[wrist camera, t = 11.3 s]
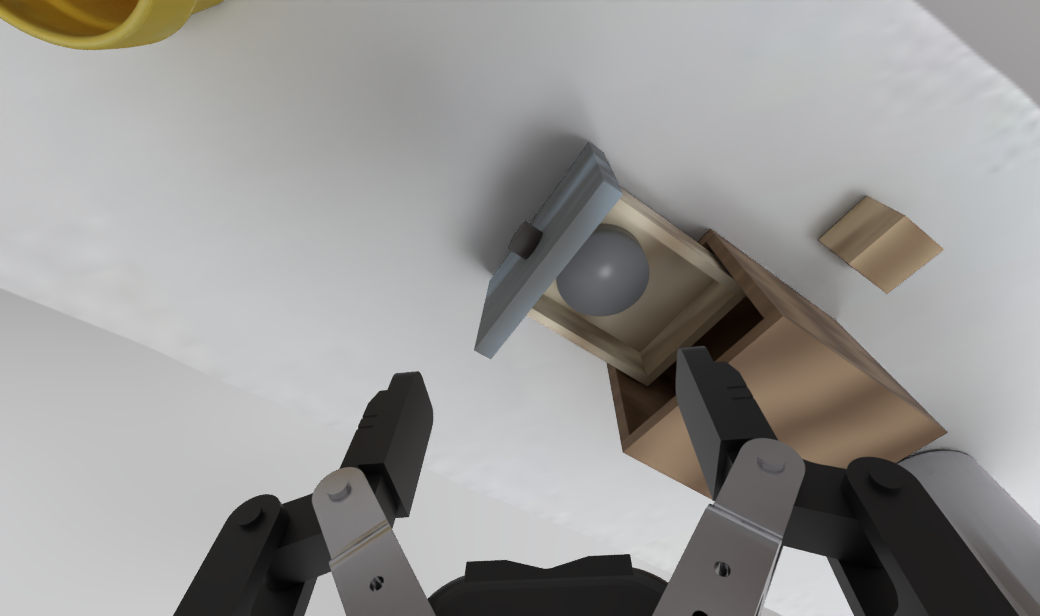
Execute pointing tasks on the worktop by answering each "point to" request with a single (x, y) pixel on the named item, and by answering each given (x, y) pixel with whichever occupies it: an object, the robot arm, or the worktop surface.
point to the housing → (778, 384)
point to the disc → (605, 273)
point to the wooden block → (880, 243)
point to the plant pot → (100, 20)
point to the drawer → (635, 331)
